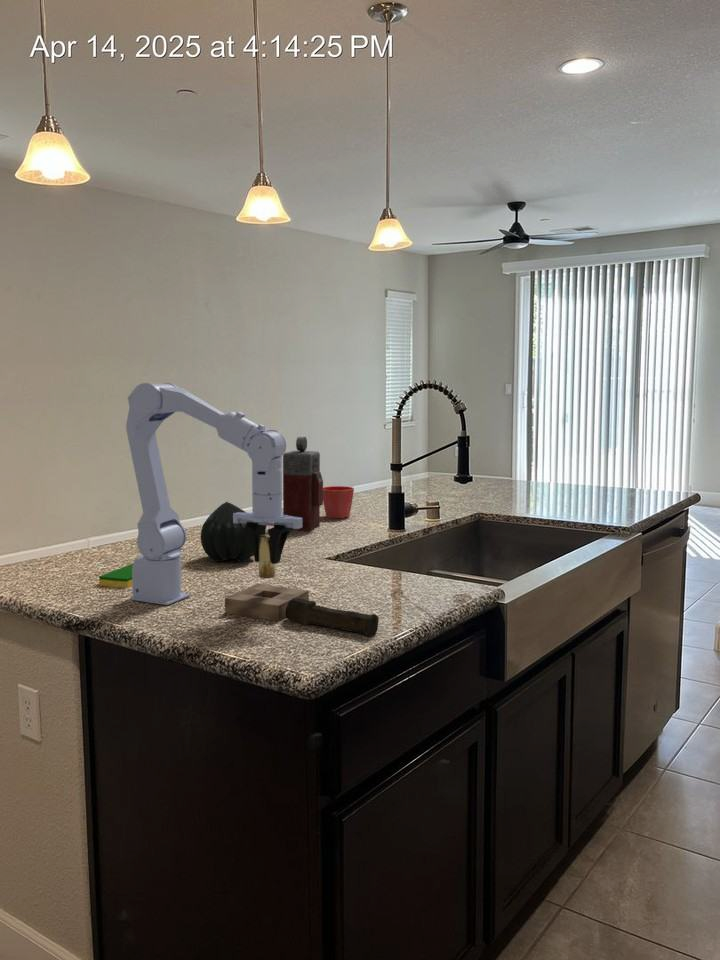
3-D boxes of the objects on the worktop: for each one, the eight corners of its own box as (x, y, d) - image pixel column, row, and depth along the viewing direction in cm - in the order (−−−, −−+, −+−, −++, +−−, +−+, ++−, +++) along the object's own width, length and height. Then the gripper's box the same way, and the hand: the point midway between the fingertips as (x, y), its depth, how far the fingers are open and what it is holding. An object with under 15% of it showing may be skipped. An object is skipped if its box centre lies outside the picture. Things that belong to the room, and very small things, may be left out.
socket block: (225, 613, 154) (224, 598, 153) (257, 598, 164) (257, 583, 164) (279, 621, 149) (278, 605, 148) (308, 605, 160) (308, 590, 159)
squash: (244, 547, 188) (256, 494, 197) (185, 546, 191) (199, 494, 200) (260, 575, 200) (271, 524, 208) (205, 574, 203) (217, 524, 211)
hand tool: (380, 633, 143) (380, 608, 142) (369, 639, 139) (369, 614, 139) (294, 617, 152) (294, 593, 152) (282, 622, 149) (282, 598, 148)
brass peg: (255, 576, 155) (255, 536, 154) (265, 573, 158) (265, 534, 157) (268, 579, 153) (268, 538, 152) (278, 575, 156) (278, 535, 155)
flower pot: (316, 515, 266) (316, 486, 265) (346, 513, 271) (346, 485, 270) (328, 520, 257) (328, 490, 255) (359, 518, 261) (359, 489, 260)
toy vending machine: (318, 531, 237) (318, 438, 234) (282, 529, 240) (282, 437, 237) (326, 526, 246) (327, 436, 242) (292, 524, 249) (292, 435, 245)
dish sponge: (98, 587, 174) (97, 576, 173) (133, 572, 187) (133, 562, 186) (126, 589, 172) (126, 578, 171) (160, 575, 185) (160, 565, 184)
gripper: (223, 493, 153) (224, 562, 155) (289, 498, 147) (290, 570, 149) (243, 489, 159) (244, 555, 161) (307, 493, 154) (307, 562, 155)
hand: (267, 561), depth 155 cm, fingers closed on brass peg, 3 cm apart
